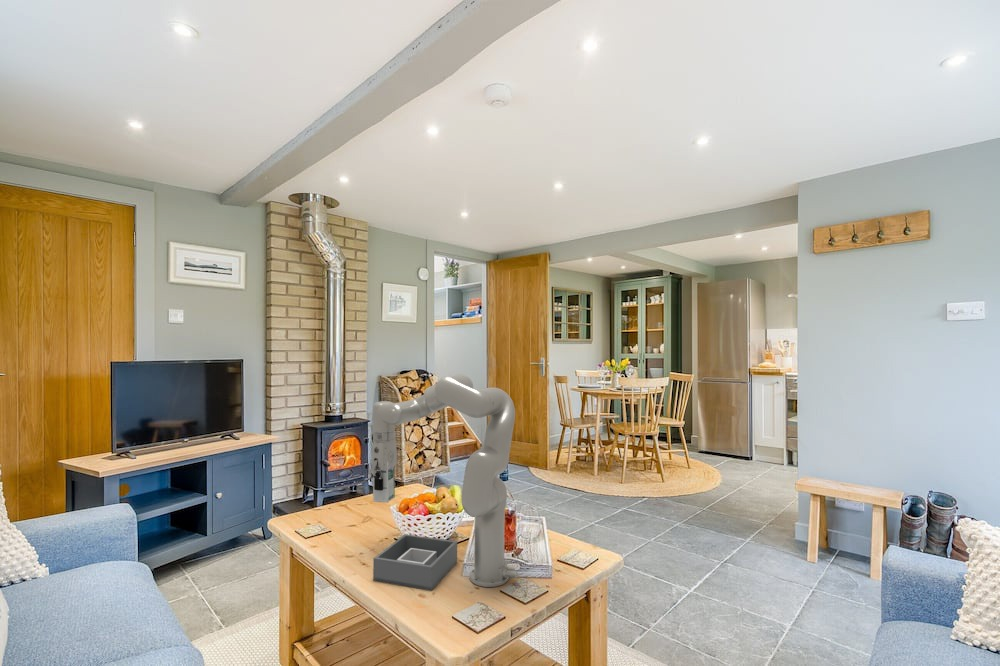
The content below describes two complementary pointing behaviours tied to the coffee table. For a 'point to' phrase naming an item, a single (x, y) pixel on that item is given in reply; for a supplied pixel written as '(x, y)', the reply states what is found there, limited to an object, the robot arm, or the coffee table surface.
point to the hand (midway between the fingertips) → (383, 486)
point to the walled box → (415, 562)
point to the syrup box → (385, 486)
